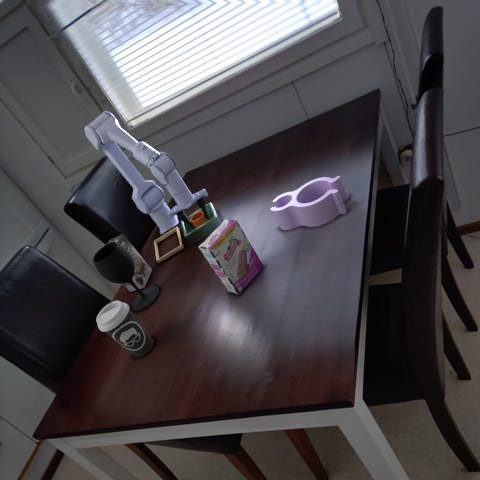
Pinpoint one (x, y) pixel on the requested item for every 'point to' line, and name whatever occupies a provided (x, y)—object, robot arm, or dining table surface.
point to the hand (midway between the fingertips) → (200, 223)
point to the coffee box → (141, 266)
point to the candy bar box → (231, 256)
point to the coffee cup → (124, 328)
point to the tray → (172, 250)
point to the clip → (311, 204)
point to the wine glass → (122, 272)
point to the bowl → (198, 219)
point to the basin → (204, 229)
